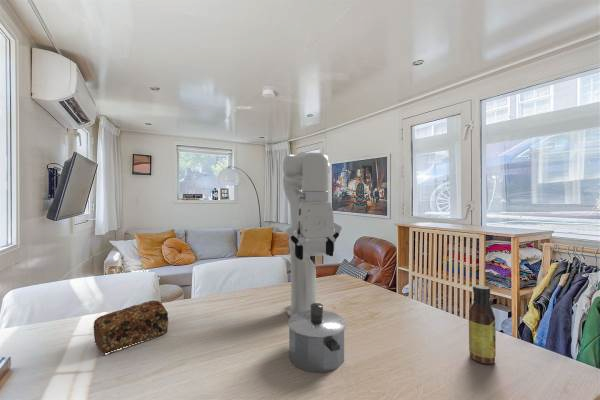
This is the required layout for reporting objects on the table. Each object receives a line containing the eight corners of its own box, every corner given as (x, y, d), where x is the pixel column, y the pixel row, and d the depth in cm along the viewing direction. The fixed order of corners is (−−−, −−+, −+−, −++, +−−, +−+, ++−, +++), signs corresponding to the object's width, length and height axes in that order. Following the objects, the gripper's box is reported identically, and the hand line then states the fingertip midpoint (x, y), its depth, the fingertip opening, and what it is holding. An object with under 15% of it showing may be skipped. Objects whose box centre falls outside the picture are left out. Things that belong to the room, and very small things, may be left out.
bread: (157, 324, 101) (156, 296, 100) (169, 335, 93) (169, 304, 93) (92, 344, 87) (92, 312, 87) (101, 358, 80) (100, 322, 80)
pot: (279, 344, 87) (279, 315, 87) (322, 334, 93) (322, 307, 93) (308, 385, 68) (308, 347, 68) (360, 369, 74) (360, 334, 74)
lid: (278, 319, 84) (278, 301, 84) (324, 308, 91) (324, 292, 91) (306, 344, 70) (306, 322, 70) (357, 329, 78) (357, 309, 77)
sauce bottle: (500, 366, 76) (500, 291, 75) (473, 364, 77) (474, 290, 77) (489, 353, 82) (489, 284, 82) (465, 351, 83) (465, 282, 83)
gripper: (292, 198, 75) (292, 263, 76) (348, 197, 82) (347, 256, 83) (282, 197, 82) (282, 257, 82) (334, 196, 89) (333, 251, 90)
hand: (314, 256), depth 83 cm, fingers open, 9 cm apart
